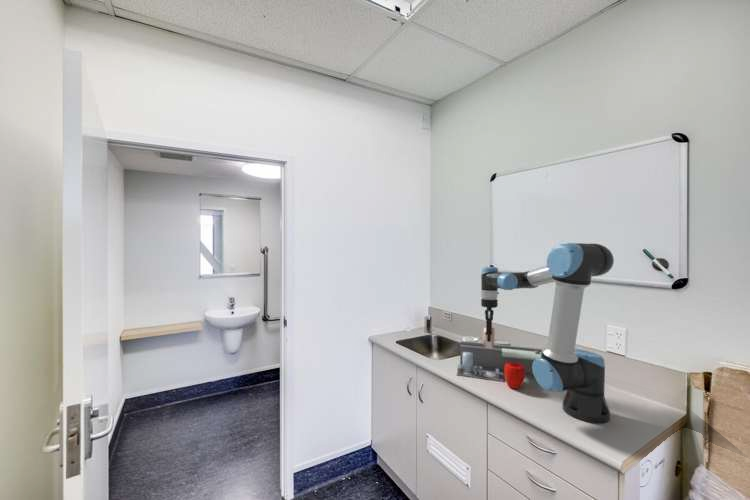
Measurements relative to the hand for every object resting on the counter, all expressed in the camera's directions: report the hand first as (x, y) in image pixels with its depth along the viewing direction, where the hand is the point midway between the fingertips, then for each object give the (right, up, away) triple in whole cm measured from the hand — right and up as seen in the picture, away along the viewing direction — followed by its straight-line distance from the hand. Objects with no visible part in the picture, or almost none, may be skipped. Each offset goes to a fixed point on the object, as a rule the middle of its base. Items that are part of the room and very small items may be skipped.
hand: (488, 346), depth 159 cm
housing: (+6, -15, +2) cm, 16 cm away
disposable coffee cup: (+12, -15, +17) cm, 26 cm away
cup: (+1, -15, +30) cm, 34 cm away
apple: (+7, -15, -13) cm, 21 cm away
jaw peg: (0, 0, 0) cm, 0 cm away
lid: (+15, -4, -2) cm, 16 cm away
